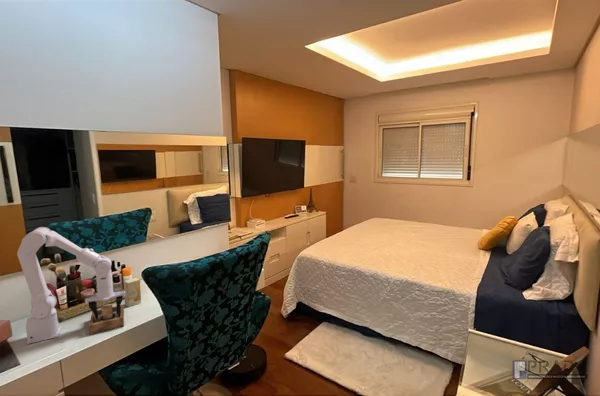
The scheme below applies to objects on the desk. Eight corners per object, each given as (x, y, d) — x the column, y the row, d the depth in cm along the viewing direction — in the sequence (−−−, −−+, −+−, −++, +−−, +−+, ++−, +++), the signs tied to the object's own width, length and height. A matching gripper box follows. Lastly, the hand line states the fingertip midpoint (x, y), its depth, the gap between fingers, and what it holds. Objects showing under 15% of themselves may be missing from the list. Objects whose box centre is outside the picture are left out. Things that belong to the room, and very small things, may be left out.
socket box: (89, 334, 124) (89, 325, 123) (93, 319, 136) (92, 310, 135) (123, 326, 130) (123, 317, 129) (124, 312, 142) (123, 304, 141)
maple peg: (102, 324, 130) (101, 309, 129) (102, 320, 134) (101, 305, 133) (113, 322, 132) (112, 306, 131) (113, 318, 136) (112, 303, 135)
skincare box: (128, 307, 147) (126, 283, 145) (124, 304, 149) (122, 281, 148) (142, 302, 152) (140, 279, 150) (137, 300, 155) (136, 277, 153)
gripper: (83, 292, 124) (86, 324, 125) (124, 285, 131) (126, 315, 133) (85, 286, 130) (88, 316, 131) (124, 280, 137) (126, 308, 139)
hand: (107, 315), depth 132 cm, fingers open, 7 cm apart
